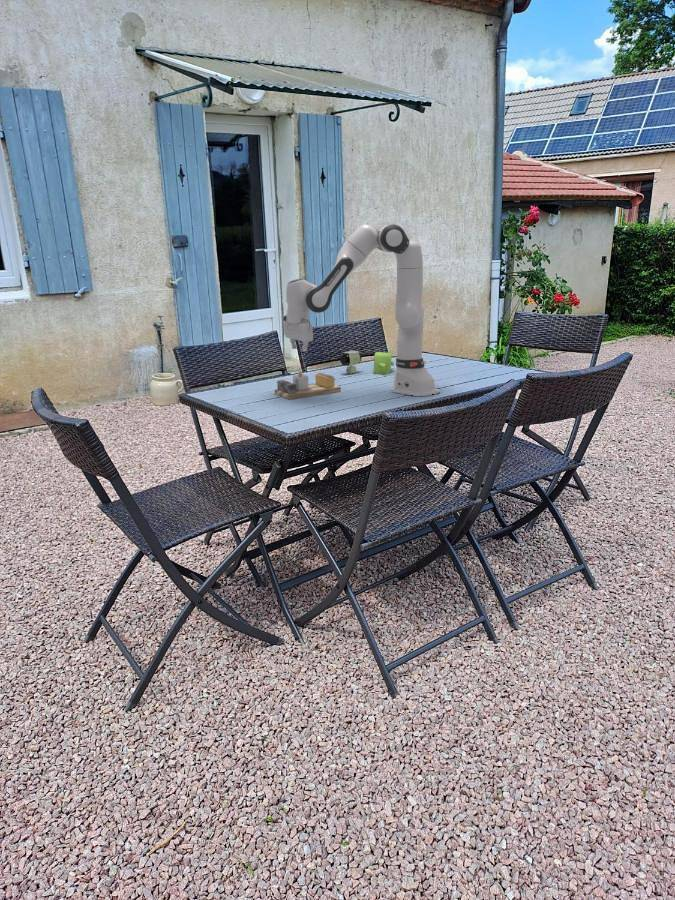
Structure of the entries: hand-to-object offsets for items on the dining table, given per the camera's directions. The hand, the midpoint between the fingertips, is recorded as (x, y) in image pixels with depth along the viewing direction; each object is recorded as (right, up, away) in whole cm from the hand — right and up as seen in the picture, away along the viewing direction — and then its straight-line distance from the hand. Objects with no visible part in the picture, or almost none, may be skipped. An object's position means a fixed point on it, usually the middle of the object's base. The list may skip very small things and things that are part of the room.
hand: (299, 350), depth 291 cm
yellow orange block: (+11, -14, +11) cm, 21 cm away
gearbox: (+40, -4, +50) cm, 64 cm away
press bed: (+3, -18, +8) cm, 20 cm away
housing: (0, -17, +5) cm, 17 cm away
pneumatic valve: (+24, -5, +49) cm, 54 cm away
